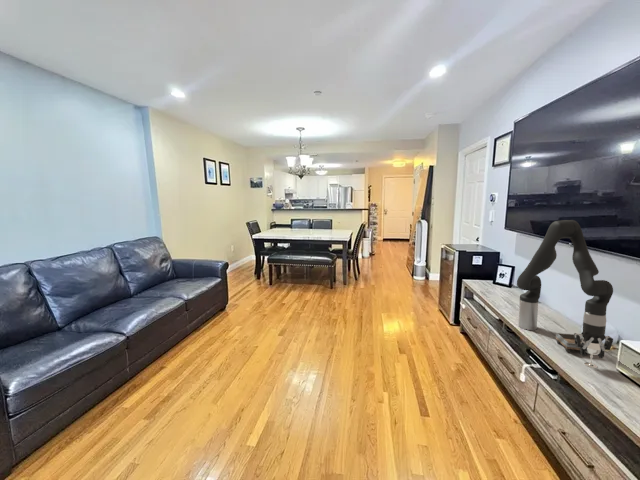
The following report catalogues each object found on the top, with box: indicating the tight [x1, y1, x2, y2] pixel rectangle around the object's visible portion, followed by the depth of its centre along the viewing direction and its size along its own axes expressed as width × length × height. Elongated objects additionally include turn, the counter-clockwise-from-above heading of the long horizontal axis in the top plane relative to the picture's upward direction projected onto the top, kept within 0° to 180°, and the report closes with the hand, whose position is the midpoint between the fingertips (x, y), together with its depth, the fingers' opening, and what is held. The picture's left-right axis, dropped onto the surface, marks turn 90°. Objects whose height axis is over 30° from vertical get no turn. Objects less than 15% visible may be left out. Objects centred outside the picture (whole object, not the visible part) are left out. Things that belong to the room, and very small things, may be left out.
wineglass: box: [584, 341, 601, 369], centre depth 131 cm, size 6×6×12 cm
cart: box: [555, 332, 590, 355], centre depth 146 cm, size 12×10×5 cm
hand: (591, 356), depth 131 cm, fingers closed on wineglass, 5 cm apart
